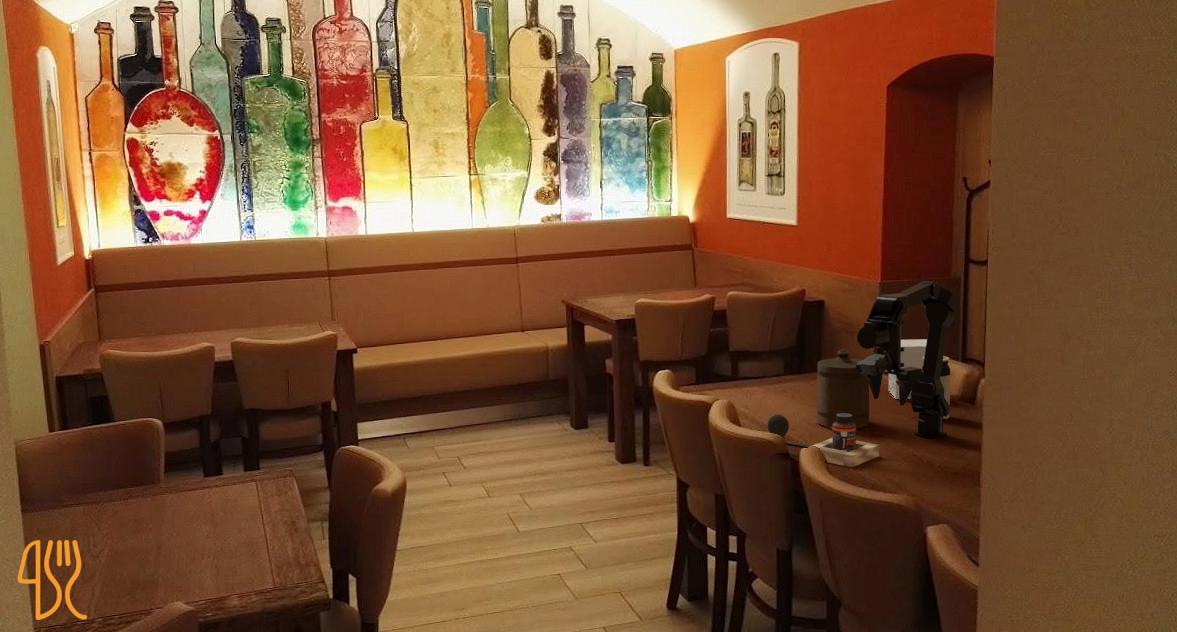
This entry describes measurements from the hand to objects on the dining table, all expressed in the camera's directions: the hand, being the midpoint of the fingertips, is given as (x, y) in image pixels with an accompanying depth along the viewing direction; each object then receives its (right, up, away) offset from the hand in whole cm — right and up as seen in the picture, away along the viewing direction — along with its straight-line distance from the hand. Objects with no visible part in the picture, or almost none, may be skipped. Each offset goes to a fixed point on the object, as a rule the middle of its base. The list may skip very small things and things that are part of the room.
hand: (888, 402), depth 269 cm
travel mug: (+24, -8, +34) cm, 42 cm away
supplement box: (+26, -3, +62) cm, 68 cm away
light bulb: (-28, -14, +4) cm, 32 cm away
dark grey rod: (-21, -13, +7) cm, 25 cm away
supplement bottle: (-13, -14, -3) cm, 19 cm away
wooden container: (-4, -9, +31) cm, 33 cm away
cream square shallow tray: (-13, -14, -3) cm, 19 cm away
